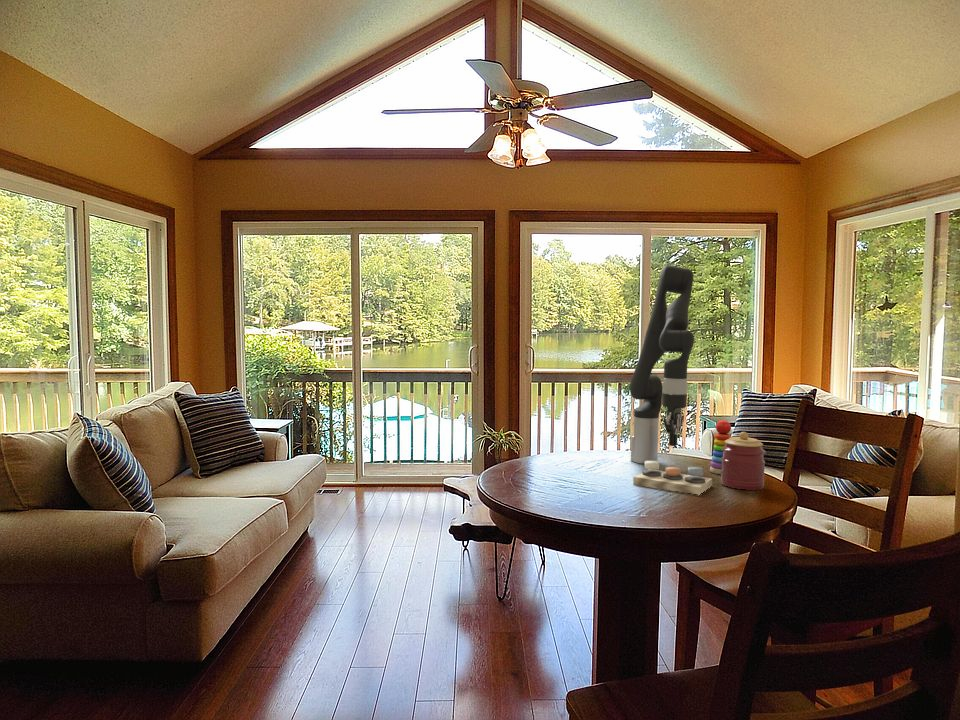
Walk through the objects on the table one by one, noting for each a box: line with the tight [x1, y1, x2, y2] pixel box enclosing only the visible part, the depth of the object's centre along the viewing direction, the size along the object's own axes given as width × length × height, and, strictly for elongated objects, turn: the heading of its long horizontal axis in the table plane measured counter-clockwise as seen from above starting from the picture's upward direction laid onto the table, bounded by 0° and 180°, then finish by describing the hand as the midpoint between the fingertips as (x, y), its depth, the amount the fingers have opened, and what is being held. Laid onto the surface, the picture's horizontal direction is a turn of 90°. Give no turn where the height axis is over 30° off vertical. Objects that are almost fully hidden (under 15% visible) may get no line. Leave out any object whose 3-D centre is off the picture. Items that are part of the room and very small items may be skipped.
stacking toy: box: [709, 419, 732, 475], centre depth 208 cm, size 8×8×19 cm
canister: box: [720, 431, 766, 491], centre depth 190 cm, size 13×13×18 cm
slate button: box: [686, 466, 704, 477], centre depth 185 cm, size 5×5×2 cm
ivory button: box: [644, 461, 660, 471], centre depth 194 cm, size 5×5×2 cm
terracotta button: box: [665, 466, 682, 476], centre depth 189 cm, size 5×5×2 cm
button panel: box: [632, 469, 713, 496], centre depth 190 cm, size 21×14×3 cm, turn 54°
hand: (673, 445), depth 189 cm, fingers closed
